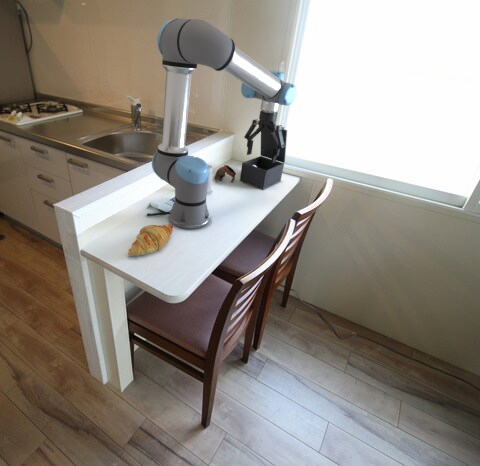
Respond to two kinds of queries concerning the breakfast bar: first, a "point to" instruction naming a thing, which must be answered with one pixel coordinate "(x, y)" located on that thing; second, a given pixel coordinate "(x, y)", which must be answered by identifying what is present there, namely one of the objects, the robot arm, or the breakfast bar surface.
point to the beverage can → (209, 178)
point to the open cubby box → (261, 172)
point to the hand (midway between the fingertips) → (260, 158)
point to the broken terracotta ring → (223, 171)
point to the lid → (268, 145)
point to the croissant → (150, 239)
